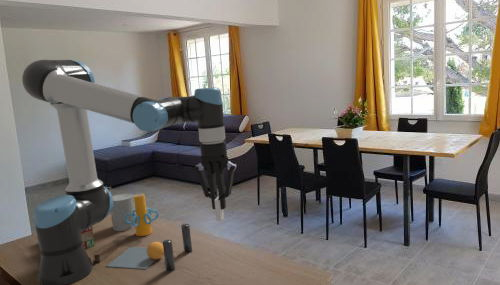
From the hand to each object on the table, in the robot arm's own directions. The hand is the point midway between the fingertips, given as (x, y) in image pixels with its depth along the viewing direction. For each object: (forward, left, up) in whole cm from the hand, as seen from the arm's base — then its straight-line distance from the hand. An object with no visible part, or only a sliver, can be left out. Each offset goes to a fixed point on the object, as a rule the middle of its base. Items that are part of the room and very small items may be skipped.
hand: (220, 219), depth 119 cm
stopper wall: (-42, 0, -14) cm, 44 cm away
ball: (-23, 0, -11) cm, 26 cm away
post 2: (-15, +6, -14) cm, 21 cm away
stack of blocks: (-62, +10, -14) cm, 65 cm away
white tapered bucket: (-51, +25, -14) cm, 59 cm away
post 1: (-15, -6, -14) cm, 21 cm away
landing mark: (-30, 0, -14) cm, 33 cm away
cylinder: (-39, +19, -14) cm, 46 cm away
